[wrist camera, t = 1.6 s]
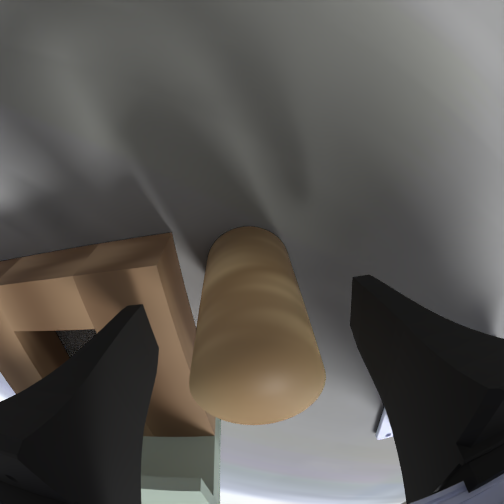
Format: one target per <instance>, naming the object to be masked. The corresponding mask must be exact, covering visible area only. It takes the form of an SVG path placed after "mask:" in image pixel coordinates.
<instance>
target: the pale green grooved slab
mask: <svg viewBox="0 0 504 504" xmlns="http://www.w3.org/2000/svg"><path fill="white" fill-rule="evenodd" d="M220 435H221V419H219V418H217V417H216V419H215V436H199V437H149V436H143V444H142V458H141V503H142V504H220Z"/></svg>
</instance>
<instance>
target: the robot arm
mask: <svg viewBox="0 0 504 504" xmlns="http://www.w3.org/2000/svg"><path fill="white" fill-rule="evenodd" d="M350 326H351V329H352V332H353V336H354V339H355V342H356V345H357V348H358V350H359V352H360V354H361V356H362V358H363V360H364V363H365V365H366V367H367V369H368V371H369V373H370V375H371V377H372V379H373V381H374V384H375V386H376V388H377V390H378V392H379V394H380V396H381V399H382V401H383V404H384V410H383V413H382V417H381V420H380V423H379V426H378V429H377V432H376V438H377V439H378V440H381V439H385V438H388V437H392V436H393V437H394V441H395V444H396V448H397V452H398V457H399V461H400V466H401V471H402V476H403V482H404V488H405V495H406V502H407V504H504V339H502V338H498V337H495V336H491V335H487V334H484V333H481V332H478V331H475V330H472V329H470V328H467V327H464V326H462V325H459V324H457V323H455V322H453V321H450V320H448V319H446V318H444V317H442V316H439V315H437V314H435V313H434V312H432V311H430V310H428V309H426V308H424V307H422V306H421V305H419V304H417V303H415V302H414V301H412V300H410V299H409V298H407V297H405V296H404V295H402V294H400V293H399V292H397V291H396V290H394V289H392V288H391V287H389V286H388V285H386V284H384V283H383V282H381V281H380V280H378V279H376V278H374V277H373V276H371V275H364V276H358V277H353V281H352V301H351V317H350ZM158 356H159V346H158V344H157V341H156V339H155V336H154V333H153V331H152V328H151V325H150V323H149V320H148V317H147V314H146V311H145V309H144V306H143V304H139V305H128V306H126V307H125V308H124V309H122V310H121V311H120V312H119V313H118V314H117V315H116V316H115V317H114V318H113V319H112V320H110V321H109V322H108V323H107V324H106V325H105V326H104V327H103V328H102V329H101V330H100V331H99V332H98V333H97V334H96V335H95V336H94V337H93V338H92V339H91V340H90V341H89V342H87V343H86V344H85V345H84V346H83V347H82V348H81V349H80V350H79V351H77V352H76V353H75V354H74V355H73V356H72V357H71V358H69V359H68V360H67V361H66V362H65V363H63V364H62V365H61V366H59V367H58V368H57V369H55V370H54V371H53V372H51V373H50V374H49V375H47V376H46V377H44V378H42V379H41V380H39V381H38V382H36V383H35V384H33V385H31V386H30V387H28V388H27V389H25V390H23V391H21V392H19V393H18V394H16V395H14V396H12V397H10V398H8V399H6V400H3V401H1V402H0V504H142V503H141V458H142V444H143V433H144V427H145V422H146V417H147V413H148V408H149V404H150V400H151V395H152V391H153V387H154V383H155V378H156V374H157V366H158Z"/></svg>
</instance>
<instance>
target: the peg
mask: <svg viewBox="0 0 504 504" xmlns="http://www.w3.org/2000/svg"><path fill="white" fill-rule="evenodd" d="M325 380H326V374H325V369H324V366H323V362H322V359H321V356H320V352H319V349H318V346H317V343H316V339H315V336H314V333H313V330H312V327H311V324H310V320H309V317H308V314H307V311H306V308H305V305H304V302H303V298H302V295H301V292H300V289H299V286H298V283H297V280H296V277H295V274H294V271H293V268H292V265H291V262H290V259H289V256H288V253H287V250H286V248H285V246H284V244H283V243H282V241H281V240H280V239H279V238H278V237H277V236H275V235H274V234H273V233H271V232H269V231H267V230H265V229H262V228H258V227H250V226H247V227H239V228H235V229H232V230H230V231H228V232H226V233H224V234H223V235H222V236H220V237H219V238H218V239H217V240H216V241H215V242H214V244H213V245H212V247H211V249H210V251H209V254H208V259H207V265H206V271H205V277H204V283H203V289H202V295H201V302H200V308H199V315H198V321H197V328H196V335H195V342H194V349H193V356H192V363H191V370H190V378H189V389H190V392H191V395H192V397H193V399H194V400H195V401H196V403H197V404H198V405H199V406H200V407H201V408H202V409H203V410H205V411H206V412H207V413H209V414H211V415H212V416H214V417H217V418H219V419H221V420H224V421H228V422H232V423H237V424H244V425H262V424H270V423H275V422H279V421H282V420H285V419H288V418H291V417H293V416H295V415H297V414H299V413H301V412H302V411H304V410H305V409H307V408H308V407H309V406H311V405H312V404H313V403H314V402H315V401H316V400H317V398H318V397H319V396H320V394H321V392H322V390H323V388H324V385H325Z"/></svg>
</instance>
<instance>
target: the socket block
mask: <svg viewBox="0 0 504 504" xmlns="http://www.w3.org/2000/svg"><path fill="white" fill-rule="evenodd" d="M139 304H143V306H144V309H145V311H146V314H147V317H148V320H149V323H150V325H151V328H152V331H153V333H154V336H155V339H156V341H157V344H158V346H159V356H158V366H157V374H156V378H155V383H154V387H153V391H152V395H151V400H150V404H149V408H148V413H147V417H146V422H145V427H144V433H143V436H149V437H199V436H215V419H216V417H214V416H212V415H211V414H209V413H207V412H206V411H205V410H203V409H202V408H201V407H200V406H199V405H198V404H197V403H196V401H195V400H194V399H193V397H192V395H191V392H190V389H189V378H190V370H191V363H192V356H193V349H194V342H195V335H196V326H195V323H194V319H193V315H192V312H191V308H190V304H189V300H188V297H187V293H186V289H185V285H184V281H183V277H182V273H181V269H180V265H179V261H178V257H177V253H176V248H175V244H174V240H173V235H172V232H171V233H164V234H157V235H151V236H144V237H138V238H131V239H125V240H119V241H112V242H106V243H100V244H94V245H88V246H82V247H76V248H70V249H65V250H59V251H53V252H48V253H42V254H36V255H31V256H26V257H20V258H15V259H10V260H4V261H0V372H1V373H2V375H3V376H4V378H5V379H6V381H7V382H8V384H9V385H10V386H11V388H12V389H13V391H14V392H15V393H16V394H18V393H19V392H21V391H23V390H25V389H27V388H28V387H30V386H31V385H33V384H35V383H36V382H38V381H39V380H41V379H42V378H44V377H46V376H47V375H49V374H50V373H51V372H53V371H54V370H55V369H57V368H58V367H59V366H61V365H62V364H63V363H65V362H66V361H67V360H68V359H69V358H70V357H69V356H68V354H67V352H66V350H65V348H64V347H63V345H62V343H61V341H60V339H59V337H58V335H57V333H56V331H57V330H84V329H95V331H96V333H98V332H99V331H100V330H101V329H102V328H103V327H104V326H105V325H106V324H107V323H108V322H109V321H110V320H112V319H113V318H114V317H115V316H116V315H117V314H118V313H119V312H120V311H121V310H122V309H124V308H125V307H126V306H128V305H139Z"/></svg>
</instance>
